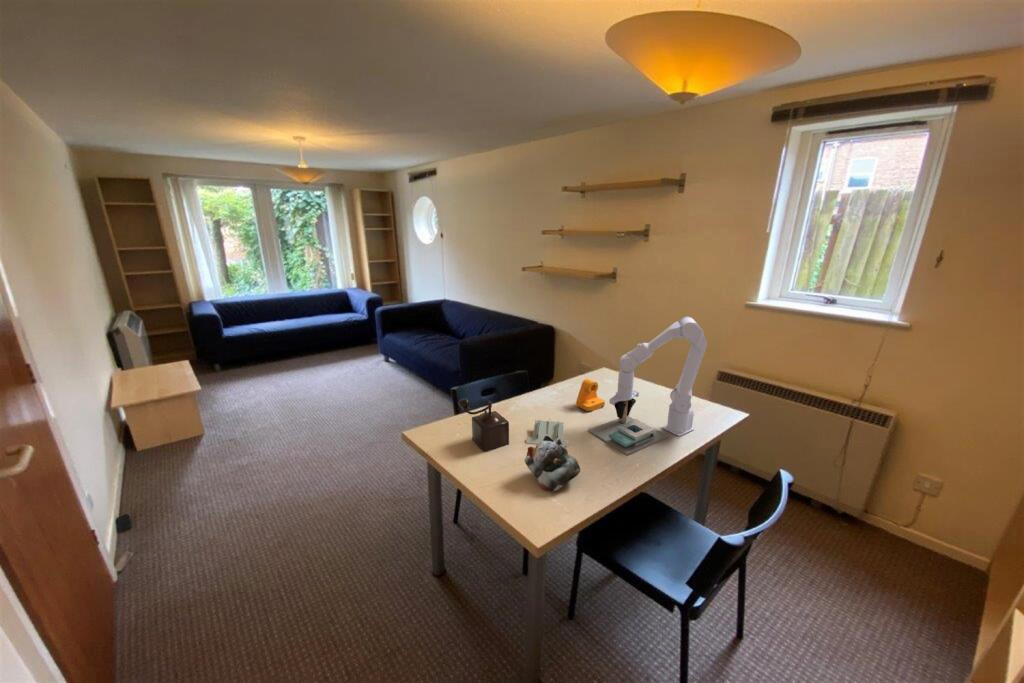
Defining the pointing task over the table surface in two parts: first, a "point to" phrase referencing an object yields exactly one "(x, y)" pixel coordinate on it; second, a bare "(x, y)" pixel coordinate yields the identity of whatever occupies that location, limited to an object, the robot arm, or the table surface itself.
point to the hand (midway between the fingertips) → (622, 416)
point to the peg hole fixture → (633, 434)
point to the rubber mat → (611, 427)
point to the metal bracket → (547, 432)
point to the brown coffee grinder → (487, 427)
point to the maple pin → (624, 413)
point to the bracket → (589, 396)
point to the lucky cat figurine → (551, 464)
